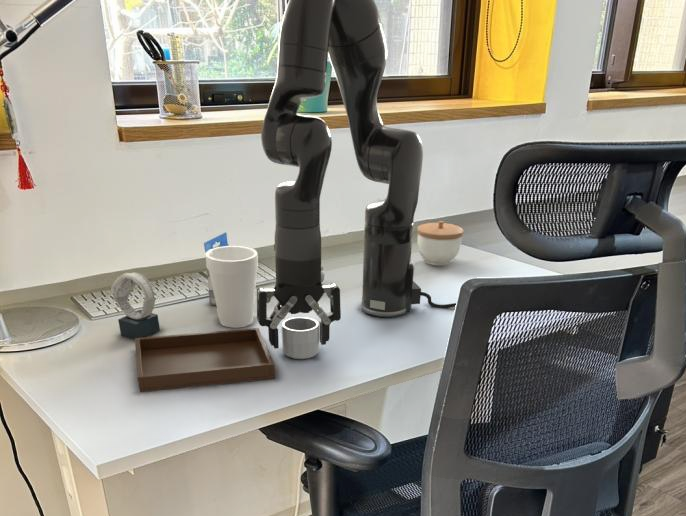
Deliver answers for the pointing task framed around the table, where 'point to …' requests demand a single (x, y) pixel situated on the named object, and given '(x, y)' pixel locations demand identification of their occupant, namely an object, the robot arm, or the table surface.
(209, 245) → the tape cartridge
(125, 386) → the table surface
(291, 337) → the grey cup
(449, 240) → the trinket box
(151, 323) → the ring sculpture on stand
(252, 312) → the foam cup
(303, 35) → the robot arm
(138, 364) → the tray
